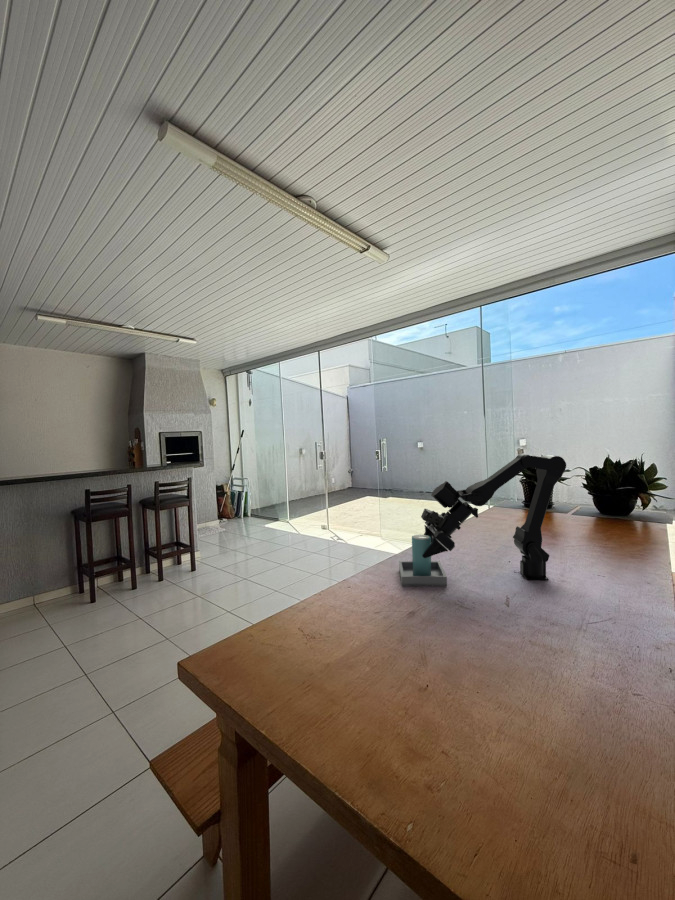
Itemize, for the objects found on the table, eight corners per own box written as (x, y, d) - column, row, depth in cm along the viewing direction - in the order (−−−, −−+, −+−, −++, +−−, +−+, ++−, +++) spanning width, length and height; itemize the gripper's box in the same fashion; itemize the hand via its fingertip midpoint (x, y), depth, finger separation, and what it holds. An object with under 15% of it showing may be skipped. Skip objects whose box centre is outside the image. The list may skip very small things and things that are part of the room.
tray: (439, 569, 131) (439, 561, 131) (447, 586, 118) (446, 576, 118) (399, 569, 133) (399, 561, 133) (401, 586, 119) (401, 576, 119)
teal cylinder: (434, 573, 126) (433, 535, 125) (427, 580, 121) (426, 540, 120) (416, 570, 129) (416, 533, 129) (409, 576, 124) (408, 538, 124)
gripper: (430, 495, 133) (399, 527, 134) (442, 506, 114) (406, 544, 115) (454, 517, 133) (422, 549, 134) (470, 532, 114) (433, 569, 115)
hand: (420, 552), depth 125 cm, fingers open, 9 cm apart
